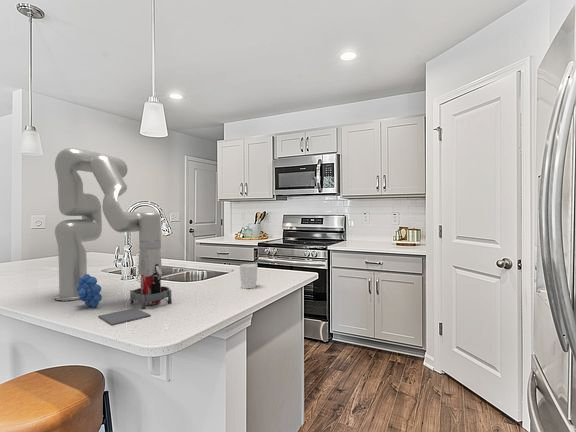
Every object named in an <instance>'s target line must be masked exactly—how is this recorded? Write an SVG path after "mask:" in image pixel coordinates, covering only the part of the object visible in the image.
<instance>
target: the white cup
mask: <svg viewBox="0 0 576 432" xmlns="http://www.w3.org/2000/svg"><path fill="white" fill-rule="evenodd" d="M239 275H240V276H239V277H240V286H241V288H242V289H245V288H251V289H255V288H256V287H257V280H258V265H257V264H255V263H244V264H240V265H239ZM254 287H255V288H254Z"/></svg>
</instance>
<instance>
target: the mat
mask: <svg viewBox="0 0 576 432" xmlns="http://www.w3.org/2000/svg"><path fill="white" fill-rule="evenodd" d="M149 317H152V316H151V314H149V312H146V311H143V310H142V309H139V308H138V307H134V308H133V307H132V308H128V309H123V310H119V311H113V312H110V313H105V314H100V315H98V318H99V319H101V320H102V321H104V322H105V323H106V324H109V325H110V326H116V325H120V324H124V323H128V322H132V321H137V320H141V319H145V318H149Z"/></svg>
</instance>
